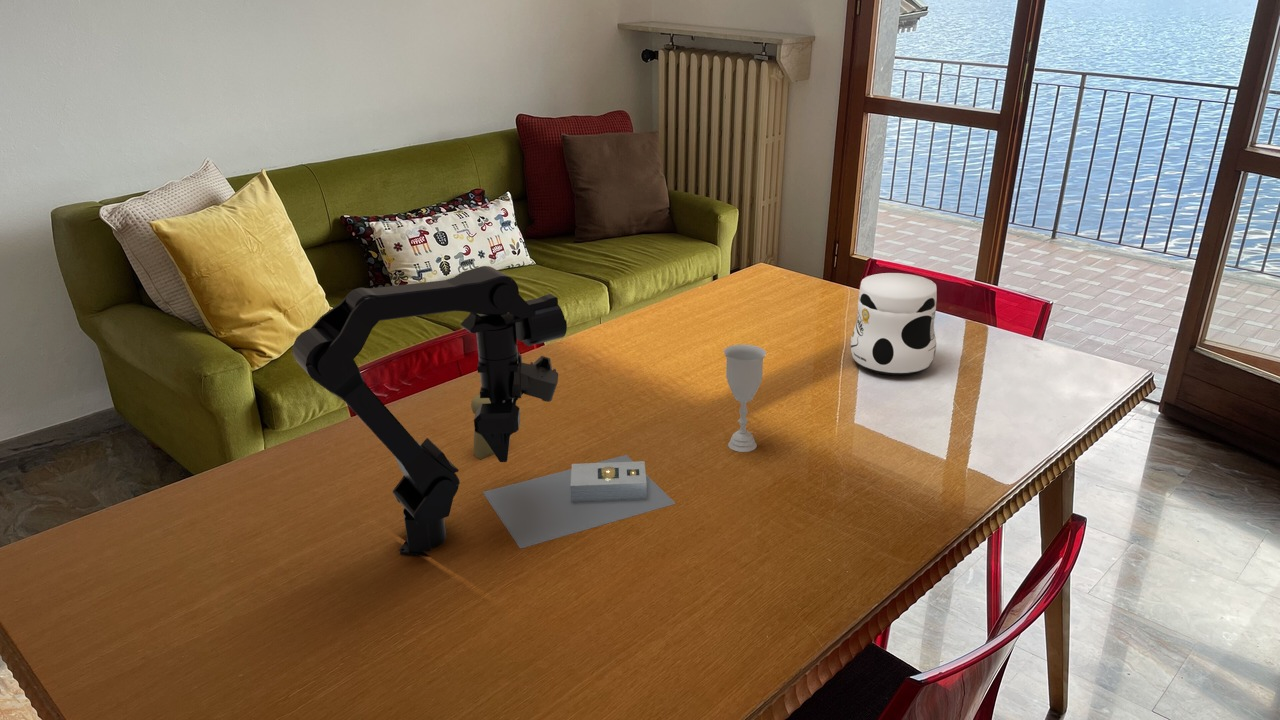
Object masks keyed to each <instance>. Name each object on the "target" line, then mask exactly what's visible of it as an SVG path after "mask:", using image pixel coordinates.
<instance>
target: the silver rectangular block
mask: <svg viewBox="0 0 1280 720" xmlns="http://www.w3.org/2000/svg"><path fill="white" fill-rule="evenodd" d="M604 467H613V468H615V478H613V479H602V472H601V470H602V468H604ZM630 471H636V475H633V476H630ZM646 475H647V473H646V464H645V461H644V460H643V461H641V460H640V461H633V462H610V463H597V462H587V463H571V502H591V501H617V500H643V499H647V484H646Z"/></svg>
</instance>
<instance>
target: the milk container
mask: <svg viewBox="0 0 1280 720" xmlns="http://www.w3.org/2000/svg"><path fill="white" fill-rule="evenodd" d="M937 292H938V291H937V284H936V283H935V282H934V281H932V280H931V279H929V278H927V277H925V276H924V277H923V276H920V275H917V274H910V273H901V272H885V273H883V272H882V273H877V274H876V273H875V274H872V275H867V276H866V277H864V278H862V280H861V281H860V286H859V291H858V299H857V317H856V322H855V326H854V328H853V331H852V334H851V337H850V350H851V351H850V353H851V356H852V359H853V360H854V361H855V363H856V364H858V365H859V366H860V367H862V368H864V369H865V370H868V371H870V372H874V373H877V374H882V375H889V376H906V375H907V376H908V375H915V374H917V373H920V372H923V371H925V370H927V369H928V368H929V367H930V366H931V364H932V363H933V361H934V358H935V355H936V351H937V339H936V338H937V337H936V334H935V333H936V332H935V319H936V313H937V300H938V299H937V298H938V297H937V295H938V294H937Z"/></svg>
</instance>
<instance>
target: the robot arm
mask: <svg viewBox="0 0 1280 720" xmlns="http://www.w3.org/2000/svg"><path fill="white" fill-rule="evenodd" d="M558 299H559V298H558V297H557V296H555V295H553V294H551V293H548V294H544V295H542V296H540V297H537V298H532V299H529V300H525V299H524V298H523V297H522V296H521V295H520V291H519V286H518V284H517V282H516V280H514V278H512V277H510V276H509V275H507V274H505V273H503V272H502V271H500V270H497V269H496V268H494V267H492V266H488V265H483V266H478V267H475V268H472V269H471V268H470V269H468V270H465V271H461V272H460V273H458V274H457V275H455V276H453V277H451V278H447V279H443V280H432V281H424V282H423V281H422V282H417V283H408V284H396V285H388V286H387V285H386V286H379V287H371V288H367V287H366V288H365V287H357V288H355V289H352V290H351V291H350V292H348V293H347V294H346V296H344V298H343V299H342V300H341V302H339V303H338V304H336V305H334V307H332V308H331V309H330V310H328V311H326V312H325V313H324V314H322V315H321V316H320V317H319V318H318V319H317V320H316V321H315V323H314V324H313V325H312V326H311V327H310V328H309V329H308V328H307V329H306V330H304V331H303V332H301V333H300V334H299V335H298V336H297V337H296V339H295V340H294V343H293V344H292V345H293V346H292V350H291V352H292V356H293V358H294V360H295V361H296V363H297V364H298V365H299V366H300V367H301V368H302V369H303V371H304V372H305V373H306V374H307V375H308V377H310V379H312V380H313V381H314V382H316V383H317V384H319V385H320V386H321V387H323V388H324V389H326V390H327V391H328V392H329V393H331V394H332V395H334V396H336V397H337V398H339V399H341V400H342V401H344V403H345V404H347V405H348V407H349V408H350V409H351V410H352V412H354V413H355V415H356V416H357V417H358V418H359V419H360V420H361V421H362V422H363V423H364V424H365V426H367V427H368V429H369V430H371V432H372V433H373V434H374V435H375V437H377V439H379V441H380V442H381V443H382V444H383V445H384V446H385V447H386V448H387V449H388V451H390V453H391V454H392V455H393V457H394V458H395V460H396V462H397V464H398V467H399V469H400V471H401V472H402V475H403V476H402V478H400V480H399V482H398V483H397V484H396V485H395V487H394V489H393V490H392V495H393V496H394V497H395V499H396V500H397V502H398V503H399V504H400V505H402V507H403V519H404V527H405V533H406V540H405V541H404V542H403V543H402V545H401V547H400V548H399V550H398V552H399V554H400V555H406V556H407V555H408V556H416V557H417V556H418V557H429V558H430V557H431V555H429V554H428V553H429V552H431V550H432V549H435V548H437V547H440V546H441V545H443V543H444V542H446V539H447V531H446V524H445V523H446V522H445V518H448V517H450V513H451V510H452V505H453V500H454V497H455V496H456V494H457V492H458V490H459V486H460V484H461V482H460V478H459V477H458V475H457V474H456V473H458V472H459V469H458V468H457V467H456V466H455V465H454V464H453V463H452V462H451V461H450V460H449V459H448V458H447V457H446V454H445V453H444V452H443V451H442V450H441V449H440V448H439V447H438V446H437V445H436V444H435V443H434V442H432V440H431V439H429V437H426V438H425V439H424V440H423V441H422V443H420V442H418V441H417V440H416V439H415V438H414V437H413V436H412V434H410V432H409V431H408V430H407V429H406V428H405V427H404V426H403V425H402V423H400V421H399V420H398V419H397V418H396V417H395V415H394V414H393V413H392V412H391V411H390V409H388V408H387V406H386V405H385V404H384V403H383V401H381V400H380V398H379V397H378V396H377V395H376V393H374V392H373V391H372V389H371V388H370V387H369V386H368V385H367V384H366V381H365V379H364V377H363V376H362V372H361V371H360V369H359V367H358V365H357V363H356V362H355V360H354V359H356V357H357V356H358V355H359V354H360V353H361V351H362V350H363V348H364V346H365V344H366V342H367V340H368V338H369V336H370V334H371V332H372V330H373V329H374V328H375V326H376V325H377V324H378V323H379V322H382V321H388V320H390V321H391V320H398V319H403V318H404V319H405V318H411V317H413V318H414V317H418V316H419V317H420V316H427V315H435V314H441V313H442V314H443V313H450V312H465V313H468V316H467V317H465V319H464V320H463V321H461V323H460V326H461V327H462V328H463V329H465V331H467V332H469V333H470V334H476V342H477V353H478V355H477V356H478V363H477V367H476V368H477V373H479V374H480V384H481V385H480V390H479V394H480V398H489V400H490V402H491V403H487V404H482V405H481V406H480V407H479V408H478V409H477V410H476V414H474V416H473V417H474V418H473V424H474V425H473V427H474V431H475V432H477V433H478V434H481V435H482V437H483V438H484V439H485V441H486V442H487V444H488V445H489V446H490V448H491V449H492V451H493V452H494V454H493V455H494V456H495V457H496V459H497V460H498V462H499V463H507V462H508V458H509V450H510V449H509V448H510V440H511V435H513V434H515V433H517V432H518V431H519V429H520V426H521V425H520V424H521V409H520V407H519V406H518V405H517V401H518V400H519V399H522V395H523V394H524V395H526V396H530V397H533V398H537V399H540V400H541V401H542V402H547V403H549V402H552V400H553V398H554V394H555V391H556V389H557V385H558V381H559V372H557V369H556V368H553V367H552V362H551V358H550V357H547V356H544V355H541V356H539V358H537V360H536V361H534V362H533V361H530V363H525V362H523V358H522V354H520V351H518V341H519V342H522V343H523V344H524V345H525V346H528V347H531V346H535V345H539V344H542V343H546V342H551V341H553V340H558V339H562V338H565V336H566V334H567V331H568V329H567V328H568V324H567V320H566V319H565V315H564V312H563V310H562V308H561V307H560V305H559V301H558ZM426 552H427V553H426Z"/></svg>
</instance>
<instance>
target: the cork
mask: <svg viewBox="0 0 1280 720" xmlns="http://www.w3.org/2000/svg"><path fill="white" fill-rule="evenodd" d="M487 403H491V402H490V400H489V398H480V393H479V394H477V395H475V396H474V397H473V398H472V400H471V403H470V406H471V408H470V409H471V411H472V413H473V414H474V415H475V414H476V410H477V409H478V408H479V407H480V406H481V405H482V404H487ZM473 436H474V438H473V440H474V441H473V456H474V457H475V458H477V459H478V458H479V460H482V459H483V460H485V459H487V458H489V457H491V456H493V455H495V454H494V452H493V451H492V449H491V448H490V446H489V445H488V444H487V442H486V441H485V439H484V438H483V437H482V435H481V434H478V433H477V432H475V430H474V434H473Z"/></svg>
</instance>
